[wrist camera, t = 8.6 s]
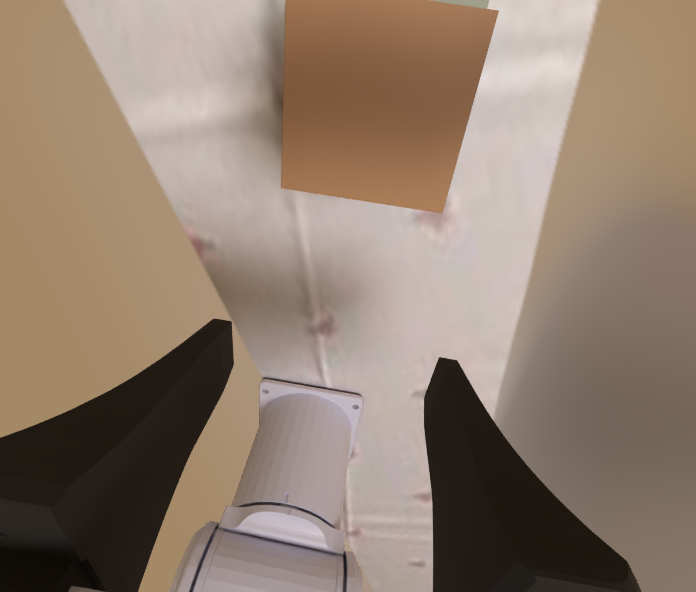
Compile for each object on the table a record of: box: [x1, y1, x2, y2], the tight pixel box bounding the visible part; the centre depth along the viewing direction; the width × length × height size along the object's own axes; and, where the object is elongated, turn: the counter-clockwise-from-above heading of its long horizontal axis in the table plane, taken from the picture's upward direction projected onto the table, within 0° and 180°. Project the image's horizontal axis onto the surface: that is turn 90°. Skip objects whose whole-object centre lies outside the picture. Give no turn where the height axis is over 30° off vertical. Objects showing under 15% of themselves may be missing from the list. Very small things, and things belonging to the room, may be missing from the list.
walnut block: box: [281, 0, 499, 213], centre depth 11 cm, size 4×4×5 cm
